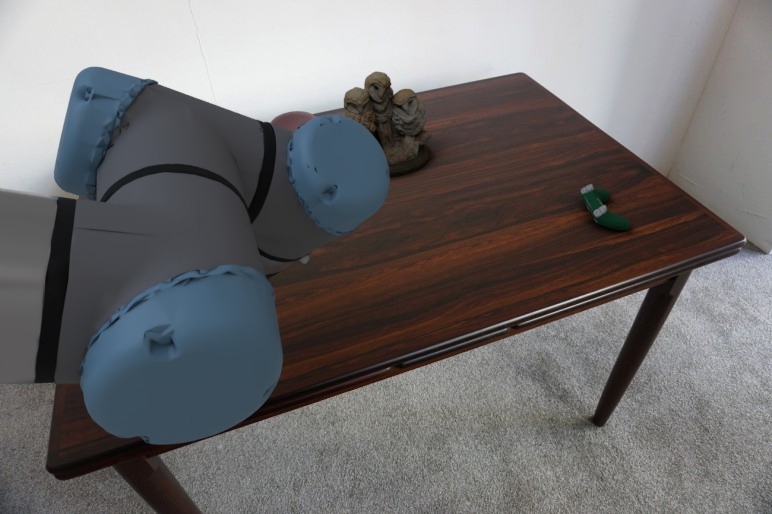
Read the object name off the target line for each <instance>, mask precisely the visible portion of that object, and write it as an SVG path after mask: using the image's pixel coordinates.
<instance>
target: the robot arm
mask: <svg viewBox="0 0 772 514" xmlns="http://www.w3.org/2000/svg"><path fill="white" fill-rule="evenodd" d="M53 180H54V182H55V183H56V185H57V186H58V187H59V188H60V189H61V190H62V191H63V192H66V193H68V194H72V195H75V196H79V197H82V198H70V197H64V196H57V195H50V194H45V193H44V194H43V193H36V192H29V191H24V190H23V191H22V190H16V189H9V188H2V187H0V385H30V384H35V385H36V384H54V385H74V384H75V385H77V384H79V386H80V389H81V391H82V393H83V394H82V395H83V400H84V405H85V407H86V410H87V413H88V414H89V416H90V417H91V419H92V420H93V422H95V423H96V424H97V425H98V426H99V427H101V428H102V429H103V430H104V431H105V432H106V433H108V434H110V435H113V436H115V437H117V438H120V439H131V438H136V437H138V438H141V439H142V440H143V441H144V442H145V443H146V444H150V445H160V446H161V445H176V444H177V445H178V444H184V443H189V442H195V441H198V440H201V439H205V438H210V437H212V436H215V435H217V434H219V433H222V432H224V431H226V430H229V429H231V428H233V427H234V426H236V425H238V424H240V423H242V422H243V421H245V420H247V418H249V417H251V416H252V415H253V414H254V413H255V412H257V411H258V410H259V409H260V408H261V407H262V406H263V405H264V404H265V402H267V401H268V399H269V397H270V396H271V395H272V393H273V392H274V391H275V388H276V387H277V384H278V383H279V381H280V380H281V374H282V370H283V364H284V363H283V362H284V354H283V353H284V352H283V347H282V339H281V335H280V334H281V333H280V327H279V321H278V314H277V309H276V303H275V301H276V295H275V291H274V286H273V285H272V284H271V282H270V281H269V279H271V278H273V277H274V276H276V275H278V274H279V273H280V272H282V271H283V270H285V269H287V268H288V267H290V266H291V265H293V264H294V263H297V262H298V263H300V264H301V265H305V264H307V263H308V262H309V261H310V260H311V257H310V254H311V253H313V252H314V251H316V250H318V249H320V248H321V247H323V246H325V245H327V244H329V243H331V242H333V241H334V240H336V239H338V238H340V237H343V236H346V235H350V234H351V233H353V232H354V231H355V230H357V228H358V227H359V226H360V225H361V224H362V223H364V222H365V221H367V220H368V219H369V218H370V217H372V216H374V214H376V213H377V212H378V211H379V210H380V209H381V208H382V206H383V205H384V203H385V202H386V200H387V197H388V195H389V192H390V182H391V177H390V176H389V166H388V162H387V159H386V156H385V154H384V151H383V149H382V148H381V146H380V144H379V143H378V141H377V140H376V139H375V137H374V136H373V135H372V134H371V133H370V132H369V131H368V130H367V129H366V128H365V127H364V126H363V125H361V124H360V123H358V122H357V121H355V120H353V119H351V118H349V117H346V116H343V115H342V114H338V113H335V114H322V115H318V116H316V117H315V118H313V119H311V120H310V121H309V122H307V123H303V124H301V125H300V127H298V128H297V130H296V131H291V130H289V129H286V128H283V127H280V126H278V125H275V124H272V123H270V122H269V121H262V120H260V119H256V118H253V117H250V116H247V115H245V114H242V113H239V112H237V111H233V110H231V109H228V108H225V107H222V106H221V105H217V104H215V103H212V102H209V101H206V100H204V99H200V98H198V97H195V96H192V95H191V94H190V95H189V94H187V93H184V92H182V91H179V90H176V89H173V88H170V87H167V86H166V85H162V84H159V81H157V80H155V79H152V78H141V77H137V76H135V75H131V74H127V73H124V72H120V71H117V70H113V69H109V68H106V67H103V66H89V67H86V68H83V69H82V70H80V71H79V72H78V74H77V75H76V77H75V78H74V81H73V84H72V88H71V91H70V95H69V100H68V104H67V108H66V112H65V116H64V120H63V125H62V129H61V134H60V138H59V143H58V148H57V152H56V157H55V162H54V169H53ZM83 198H85V199H83Z"/></svg>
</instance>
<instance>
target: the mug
mask: <svg viewBox="0 0 772 514" xmlns="http://www.w3.org/2000/svg"><path fill="white" fill-rule="evenodd" d="M315 117H317V116H316V115H314V114H313V113H311V112H308V111H303V110H293V111H287V112H284V113H281V114H278V115H277V116H275V117H274V118H272V120H271V121H270V122H269V123H272V124H275V125H278V126H280V127H283V128H286V129H289V130H291V131H296V130H297V128H298V127H300V125H301V124H303V123H307V122H309V121H310V120H311V119H313V118H315Z"/></svg>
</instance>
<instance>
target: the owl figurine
mask: <svg viewBox="0 0 772 514" xmlns="http://www.w3.org/2000/svg"><path fill="white" fill-rule="evenodd" d="M363 86H364V88H362V87H358V86H354V87H353V88H351V89H350V88H349V90H347V91H345V94H344V97H343V107H344V108H343V111H344V112H343V113H342V114H341V115H343V116H346V117H349V118H351V119H353V120H355V121H357V122H358V123H360V124H361V125H363V126H364V127H365V128H366V129H367V130H368V131H369V132H370V133H371V134H372V135H373V136H374V137H375V139H376V140H377V141H378V143H379V144H380V146H381V148H382V149H383V151H384V154H385V156H386V159H387V162H388V166H389V176H390V178H394V177H400V176H404V175H407V174H411V173H413V172H415V171H418V170H419V169H421V168H423V167H424V166H425V164H426V163H428V162H429V161H430V159H431V158H430V157H431V151H430V148H429V147H428V146H427V145H426V144H425V142H426V141H428V140H430V139H432V136H433V133H432V131H429V130H425V126H426V123H427V116H426V114H427V113H426V109H425V107H426V106H425V102H423V101H422V100H421V99H420V98H418V96H417V94H416V92H415V91H414V90H413V89H411V88H402V89H399V90H397V92H395V93H394V89H393V88H392V81H391V77H390V76H389V75H388V74H387V73H386V72H382V71H373V72H371V73H370V74H369V75H367V76H366V77H365V79H364V83H363Z"/></svg>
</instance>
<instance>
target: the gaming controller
mask: <svg viewBox="0 0 772 514" xmlns="http://www.w3.org/2000/svg"><path fill="white" fill-rule="evenodd" d="M579 194H580V197H581V199H582V200H583V202H584V203H585V205H586V206H587V207H586V208H587V210H588V211H589V212H590V214H591V215H592V217H593V220H594V221H595V223H596V224H598V225H599V226H600V225H601V226H602V227H604V228H608V229H611V230H616V231H629V230H630V226H631V223H630V221H629V220H628V219H626V218H625V217H623V216H621V215H618V214H616V213H615V212H612V211H610V210H609V208H608V207H607V205H606V204H604V203H606V202H608V201H609V200H610V199H611V196H612V195H611V193H610V191H608V190H607V189H606V188H599V187H594V185H593V184H592V183H590V184H588V185H585V186H583V187H582V188H581V189H580V190H579Z"/></svg>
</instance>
